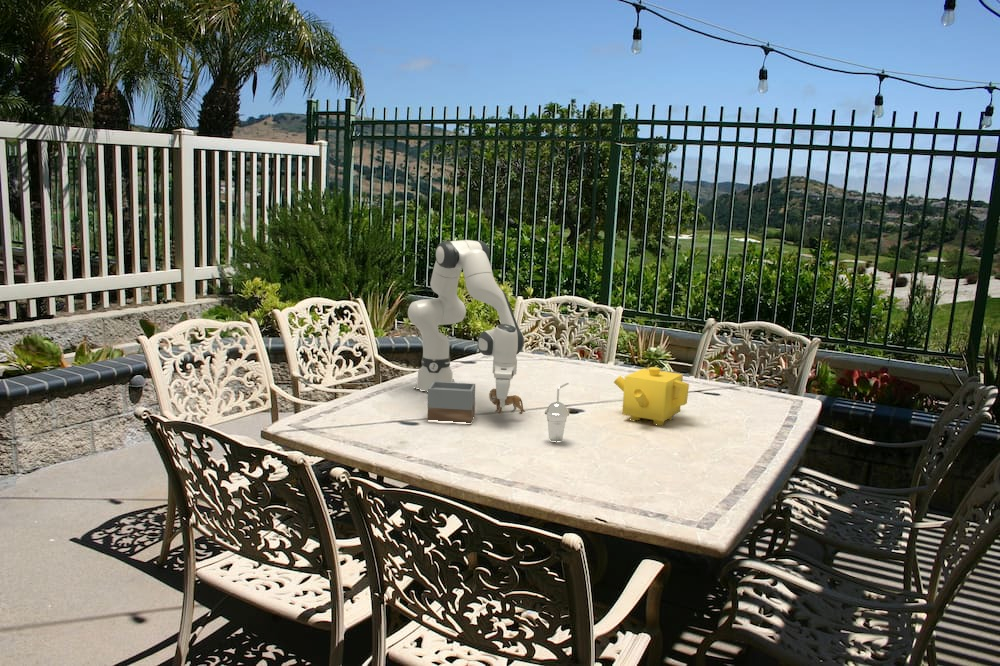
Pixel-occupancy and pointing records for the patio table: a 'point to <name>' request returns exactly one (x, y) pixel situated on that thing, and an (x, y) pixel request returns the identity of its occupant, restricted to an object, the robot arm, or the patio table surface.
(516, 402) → the lion figurine
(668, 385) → the yellow teapot
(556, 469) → the patio table surface
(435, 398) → the grey storage bin
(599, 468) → the patio table surface
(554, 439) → the cup with straw
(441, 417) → the tower bottom
